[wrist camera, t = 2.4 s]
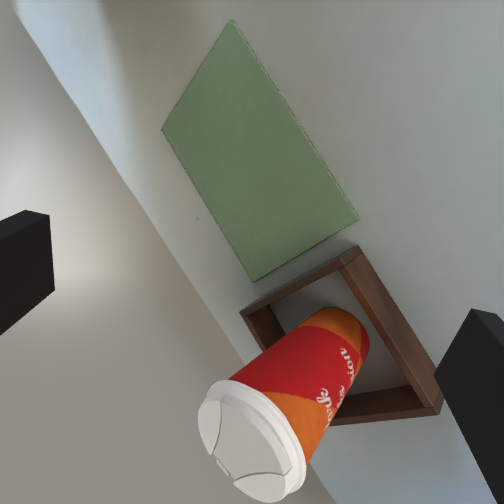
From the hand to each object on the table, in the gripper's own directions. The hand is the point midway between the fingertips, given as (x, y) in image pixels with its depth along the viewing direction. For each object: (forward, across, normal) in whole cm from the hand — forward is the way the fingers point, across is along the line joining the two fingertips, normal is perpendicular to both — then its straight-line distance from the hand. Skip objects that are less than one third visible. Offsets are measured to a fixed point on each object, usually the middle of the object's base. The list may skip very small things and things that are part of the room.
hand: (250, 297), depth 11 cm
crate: (+18, +9, -14) cm, 24 cm away
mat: (+24, -3, -1) cm, 24 cm away
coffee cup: (+18, +9, -14) cm, 24 cm away
